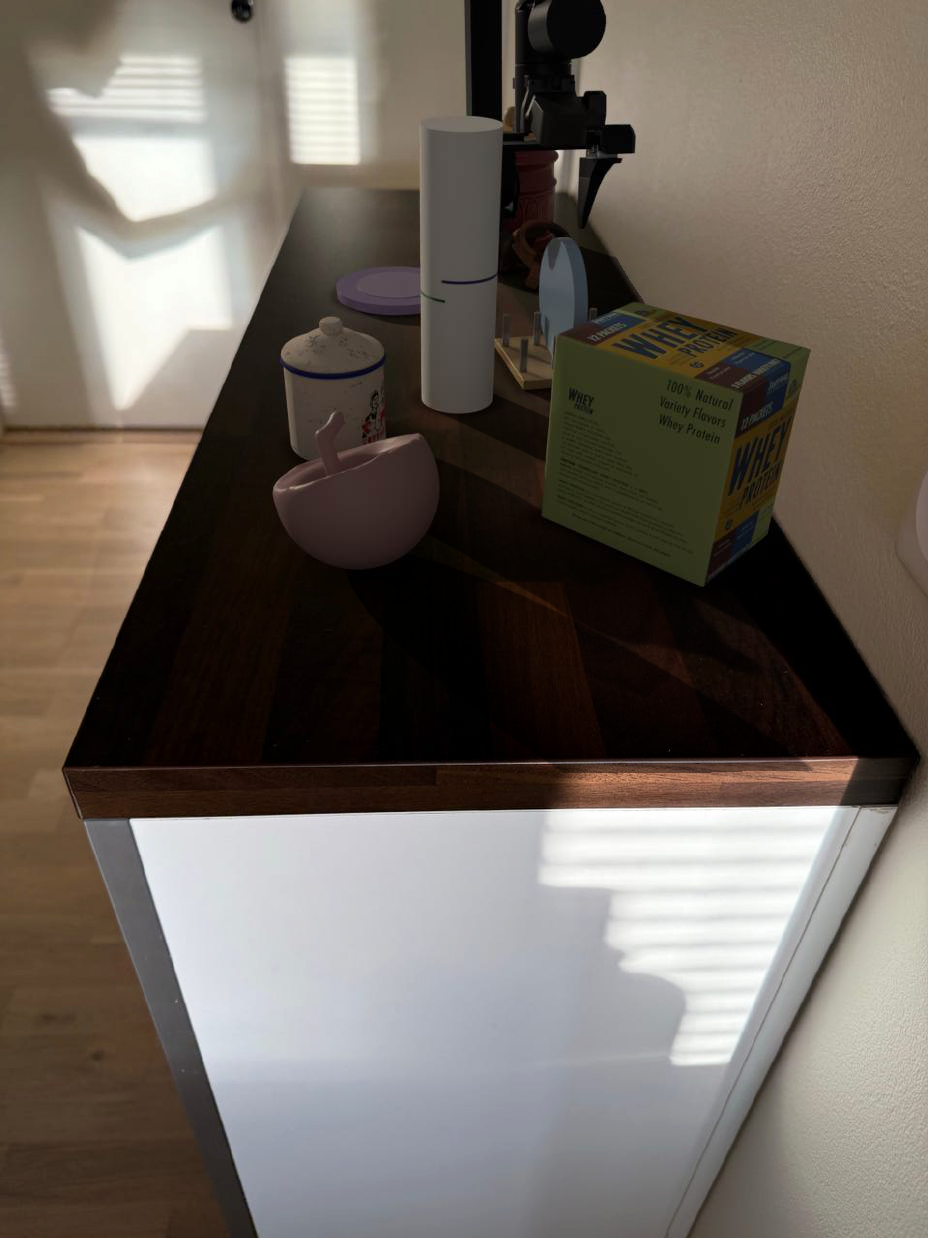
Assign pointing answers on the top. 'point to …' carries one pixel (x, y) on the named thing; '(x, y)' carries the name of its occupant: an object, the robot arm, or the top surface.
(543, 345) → the dish rack
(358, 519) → the mortar and pestle
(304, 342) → the teacup with lid
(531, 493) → the top surface
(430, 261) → the cylindrical container
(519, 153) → the kitchen canister
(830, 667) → the top surface
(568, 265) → the blue plate
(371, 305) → the lavender plate
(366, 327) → the top surface
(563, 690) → the top surface
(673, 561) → the protein box
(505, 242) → the pottery mug
